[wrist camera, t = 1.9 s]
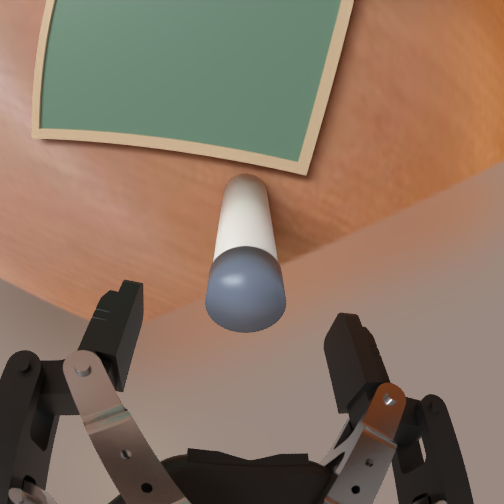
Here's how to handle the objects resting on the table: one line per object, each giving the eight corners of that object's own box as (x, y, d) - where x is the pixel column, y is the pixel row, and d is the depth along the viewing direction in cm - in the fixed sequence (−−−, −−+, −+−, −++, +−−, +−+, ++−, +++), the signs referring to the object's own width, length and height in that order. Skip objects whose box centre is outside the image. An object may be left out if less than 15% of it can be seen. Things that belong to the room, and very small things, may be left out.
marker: (272, 177, 22) (296, 280, 12) (262, 217, 24) (274, 336, 14) (226, 168, 22) (210, 267, 12) (219, 210, 24) (201, 326, 14)
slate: (357, -31, 13) (362, -35, 12) (303, 171, 22) (306, 175, 21) (69, -53, 10) (63, -56, 10) (38, 135, 19) (31, 138, 18)
